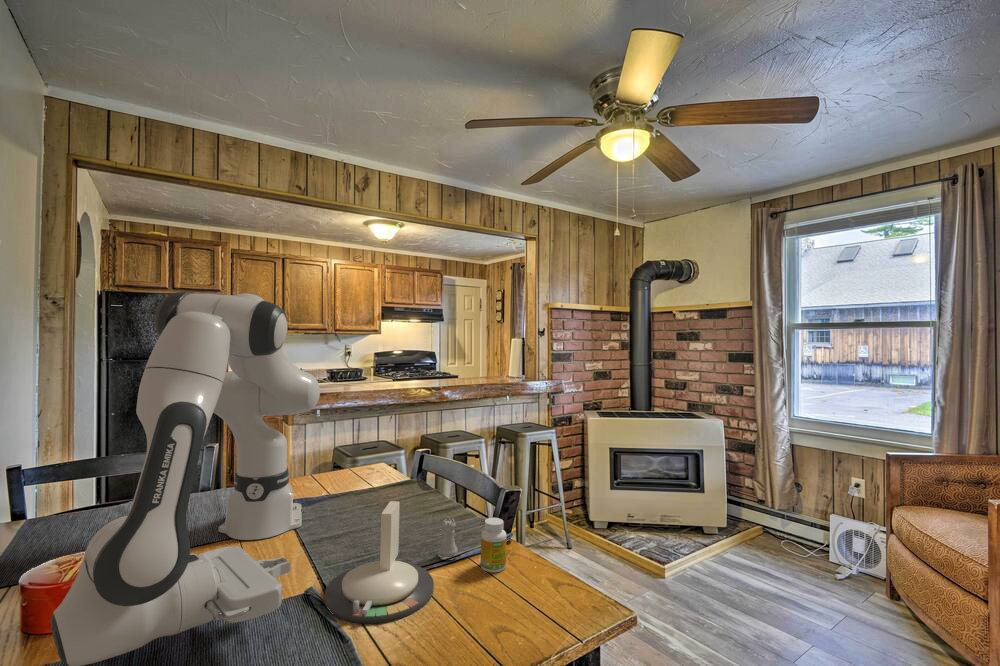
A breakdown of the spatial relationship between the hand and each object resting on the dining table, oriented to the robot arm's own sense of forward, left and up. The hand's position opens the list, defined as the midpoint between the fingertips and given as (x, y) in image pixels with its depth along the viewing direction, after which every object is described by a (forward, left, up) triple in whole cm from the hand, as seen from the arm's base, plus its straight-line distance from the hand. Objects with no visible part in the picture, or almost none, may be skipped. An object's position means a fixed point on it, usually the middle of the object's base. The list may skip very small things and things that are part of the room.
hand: (287, 563), depth 83 cm
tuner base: (-3, +16, -8) cm, 18 cm away
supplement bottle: (-9, +39, -8) cm, 41 cm away
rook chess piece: (-15, +30, -8) cm, 35 cm away
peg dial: (-3, +16, -7) cm, 18 cm away
